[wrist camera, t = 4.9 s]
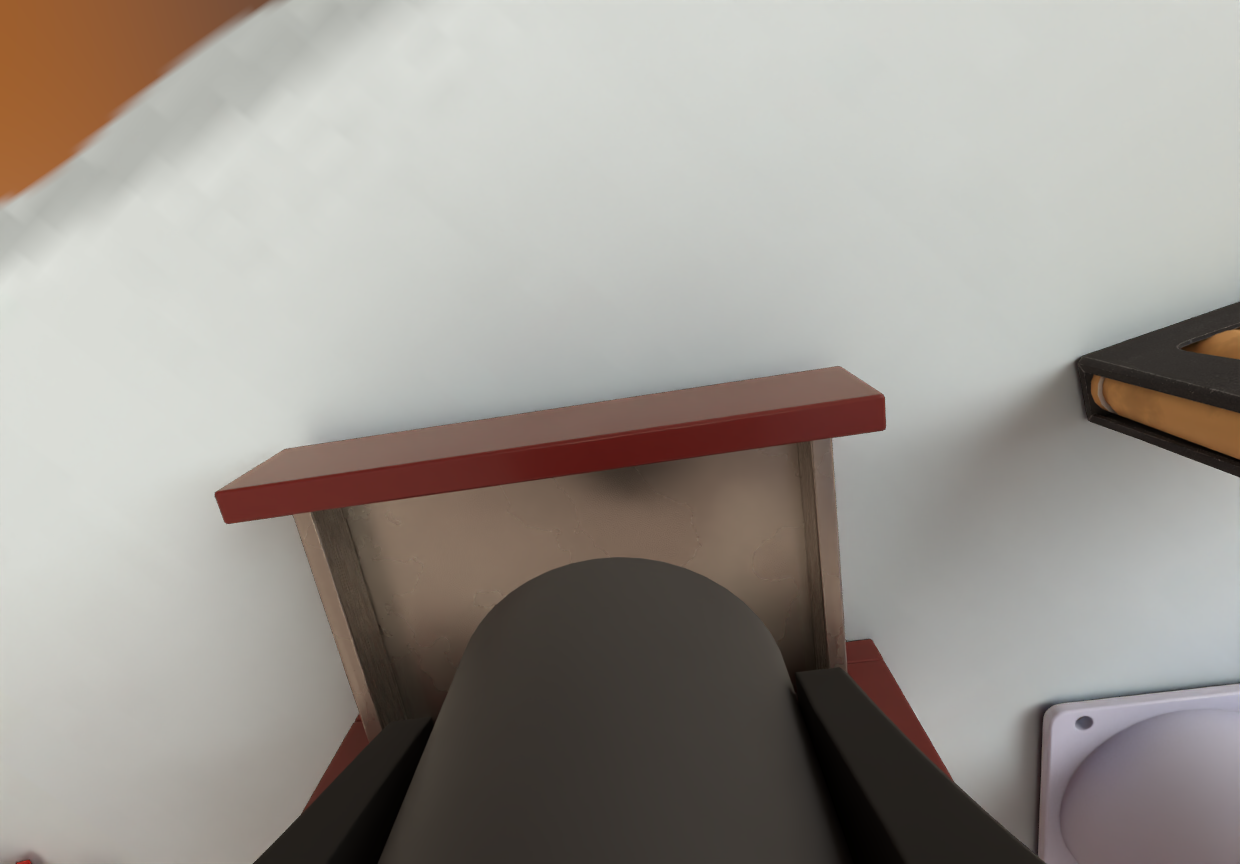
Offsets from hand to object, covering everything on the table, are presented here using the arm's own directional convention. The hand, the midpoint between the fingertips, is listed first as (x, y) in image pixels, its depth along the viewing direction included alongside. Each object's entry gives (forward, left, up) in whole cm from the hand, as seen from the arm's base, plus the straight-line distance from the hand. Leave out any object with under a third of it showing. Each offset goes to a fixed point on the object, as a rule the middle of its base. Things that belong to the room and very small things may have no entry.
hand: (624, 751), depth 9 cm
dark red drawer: (+1, +4, -8) cm, 9 cm away
